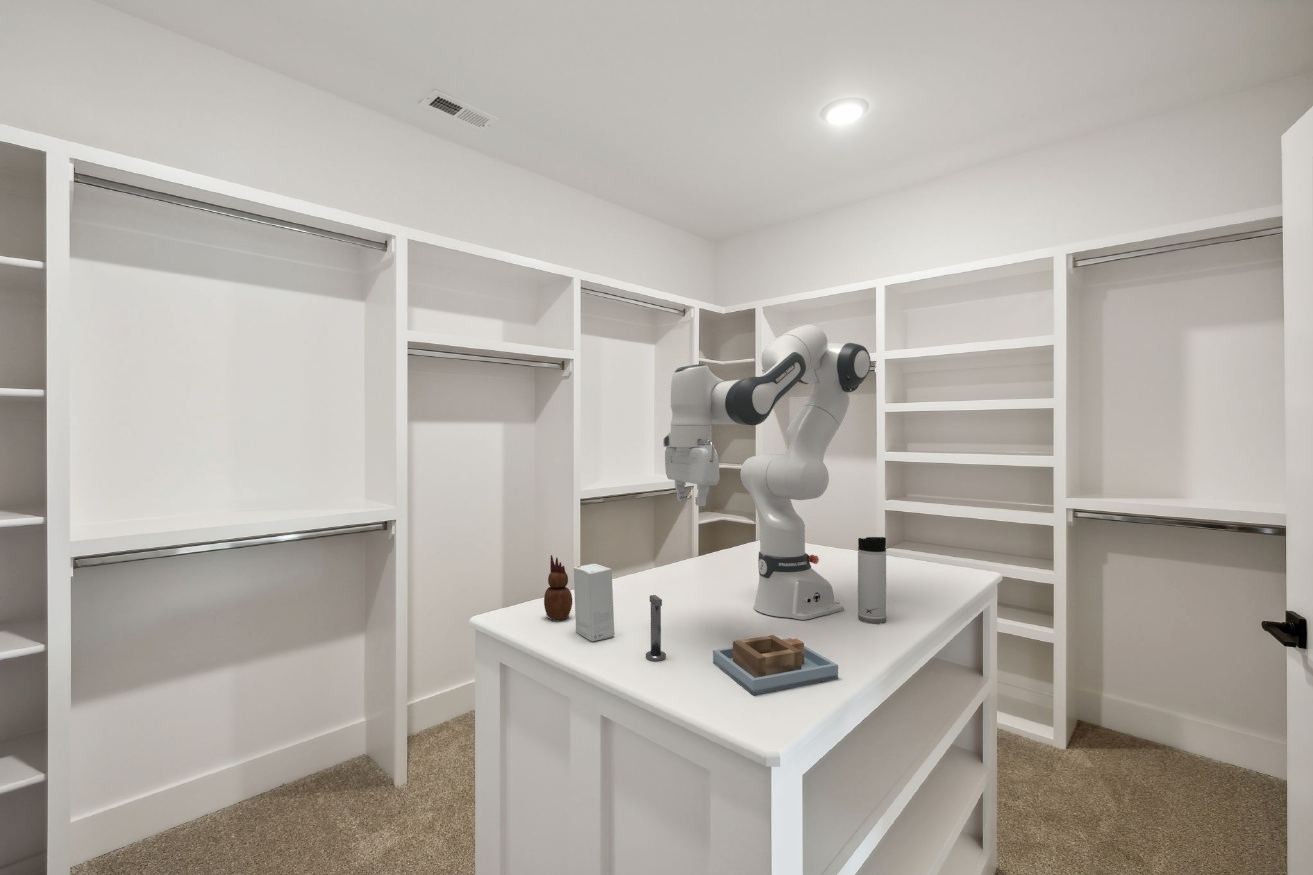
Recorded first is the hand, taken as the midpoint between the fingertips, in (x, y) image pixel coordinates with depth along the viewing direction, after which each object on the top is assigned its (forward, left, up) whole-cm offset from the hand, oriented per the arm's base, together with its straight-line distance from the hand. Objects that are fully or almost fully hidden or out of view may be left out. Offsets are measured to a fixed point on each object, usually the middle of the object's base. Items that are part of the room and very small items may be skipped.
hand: (691, 503), depth 122 cm
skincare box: (+19, -10, -29) cm, 36 cm away
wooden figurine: (+24, -24, -29) cm, 45 cm away
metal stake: (+11, +7, -29) cm, 32 cm away
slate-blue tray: (-7, +21, -29) cm, 37 cm away
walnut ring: (-7, +21, -28) cm, 36 cm away
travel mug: (-45, +5, -29) cm, 54 cm away
